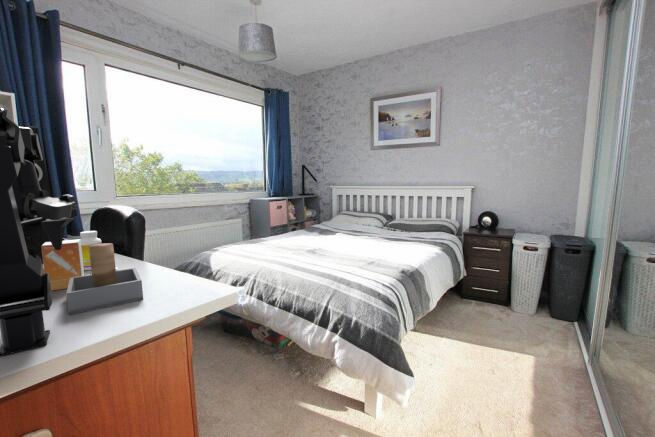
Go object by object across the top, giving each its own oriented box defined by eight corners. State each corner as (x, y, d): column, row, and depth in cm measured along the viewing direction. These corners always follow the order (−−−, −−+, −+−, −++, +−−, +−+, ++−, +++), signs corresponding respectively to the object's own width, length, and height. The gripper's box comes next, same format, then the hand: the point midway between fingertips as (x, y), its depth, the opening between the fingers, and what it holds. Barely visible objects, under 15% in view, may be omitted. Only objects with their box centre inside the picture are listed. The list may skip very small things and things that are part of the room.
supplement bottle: (107, 267, 111) (104, 231, 109) (85, 272, 105) (81, 234, 103) (99, 264, 114) (95, 229, 113) (77, 269, 109) (72, 232, 107)
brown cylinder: (118, 295, 80) (113, 245, 79) (94, 300, 77) (88, 248, 76) (117, 290, 84) (112, 242, 83) (94, 294, 81) (88, 245, 80)
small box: (46, 292, 86) (40, 245, 85) (50, 285, 91) (44, 241, 90) (83, 286, 91) (78, 241, 89) (85, 280, 96) (80, 238, 94)
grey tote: (143, 299, 80) (141, 280, 79) (68, 314, 71) (66, 293, 70) (136, 284, 91) (135, 267, 91) (72, 296, 83) (70, 277, 82)
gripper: (16, 190, 58) (38, 269, 62) (91, 180, 77) (105, 242, 80) (-42, 194, 59) (-17, 272, 62) (46, 183, 77) (62, 244, 80)
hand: (41, 256), depth 71 cm, fingers open, 9 cm apart
